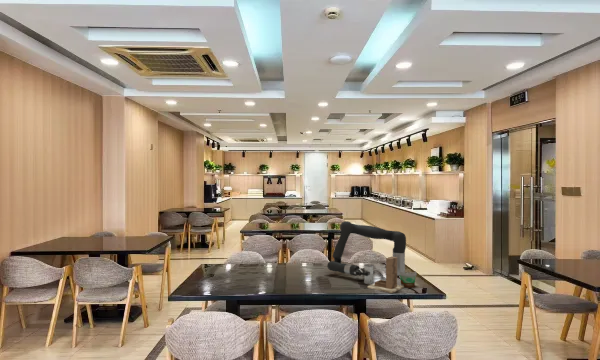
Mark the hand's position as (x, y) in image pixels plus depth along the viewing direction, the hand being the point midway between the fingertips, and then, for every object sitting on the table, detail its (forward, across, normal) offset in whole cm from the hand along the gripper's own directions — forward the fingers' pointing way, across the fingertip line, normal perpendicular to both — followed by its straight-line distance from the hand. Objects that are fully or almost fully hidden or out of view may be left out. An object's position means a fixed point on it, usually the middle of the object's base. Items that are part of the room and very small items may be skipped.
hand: (371, 273), depth 268 cm
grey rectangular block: (-2, 0, +7) cm, 7 cm away
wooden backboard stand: (+13, -3, +7) cm, 15 cm away
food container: (+24, +10, +7) cm, 27 cm away
